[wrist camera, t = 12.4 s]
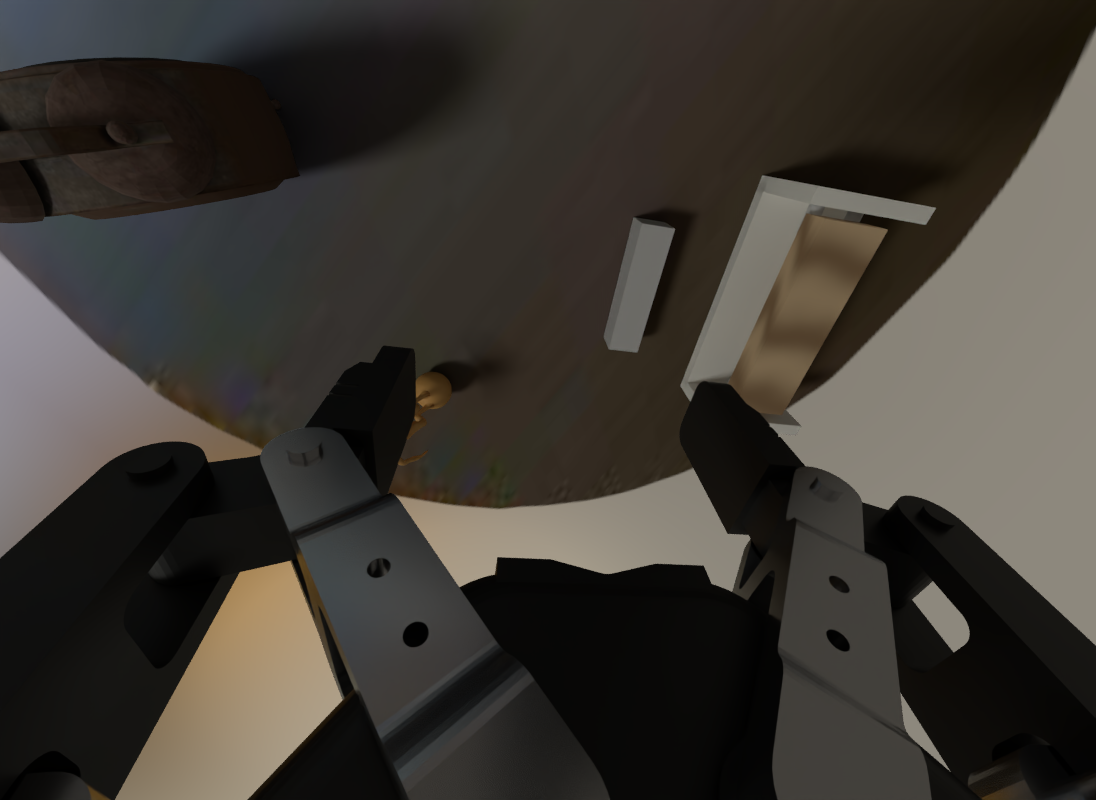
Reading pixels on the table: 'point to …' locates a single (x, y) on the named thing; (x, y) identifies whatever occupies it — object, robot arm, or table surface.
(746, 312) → the shelf frame
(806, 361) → the shelf board
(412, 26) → the table surface
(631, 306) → the block
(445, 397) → the figurine
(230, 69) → the alarm clock
